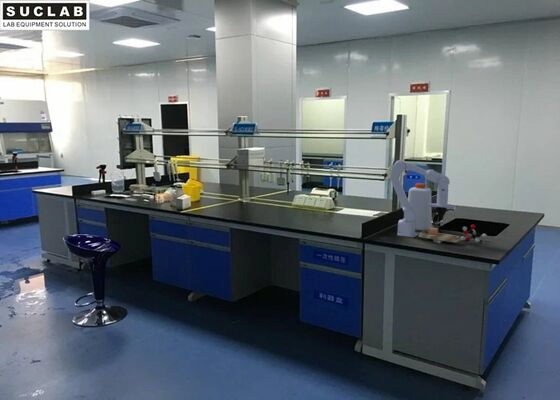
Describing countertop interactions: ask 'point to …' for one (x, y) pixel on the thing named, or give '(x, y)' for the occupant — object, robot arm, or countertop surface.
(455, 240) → the wooden tray
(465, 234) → the molecular model
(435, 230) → the pink cube
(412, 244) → the countertop surface
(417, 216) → the plastic bottle
